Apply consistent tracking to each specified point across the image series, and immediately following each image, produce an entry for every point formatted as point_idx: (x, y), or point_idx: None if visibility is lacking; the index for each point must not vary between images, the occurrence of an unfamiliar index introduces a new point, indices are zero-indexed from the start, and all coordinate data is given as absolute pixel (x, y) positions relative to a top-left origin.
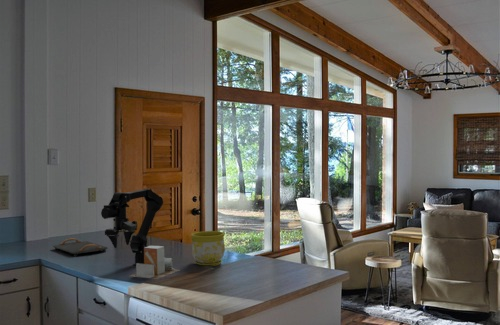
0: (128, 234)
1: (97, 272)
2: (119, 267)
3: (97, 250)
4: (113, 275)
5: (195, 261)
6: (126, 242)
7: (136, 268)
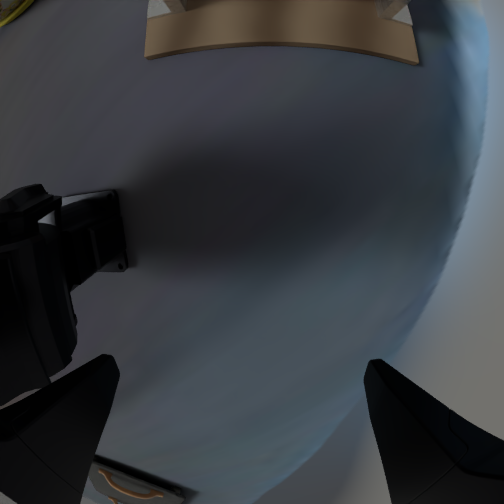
0: (27, 463)
1: (370, 330)
2: (216, 306)
3: (116, 470)
4: (411, 188)
5: (24, 2)
6: (108, 396)
7: (408, 1)
